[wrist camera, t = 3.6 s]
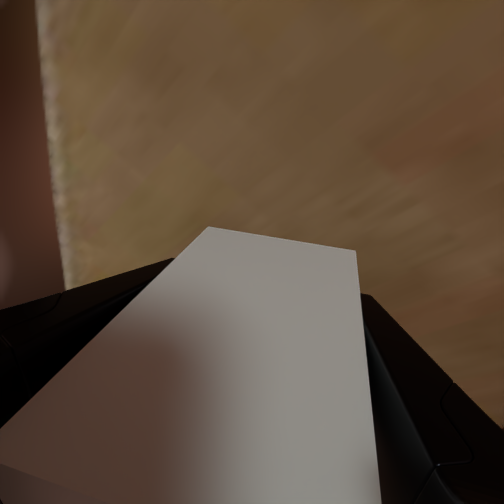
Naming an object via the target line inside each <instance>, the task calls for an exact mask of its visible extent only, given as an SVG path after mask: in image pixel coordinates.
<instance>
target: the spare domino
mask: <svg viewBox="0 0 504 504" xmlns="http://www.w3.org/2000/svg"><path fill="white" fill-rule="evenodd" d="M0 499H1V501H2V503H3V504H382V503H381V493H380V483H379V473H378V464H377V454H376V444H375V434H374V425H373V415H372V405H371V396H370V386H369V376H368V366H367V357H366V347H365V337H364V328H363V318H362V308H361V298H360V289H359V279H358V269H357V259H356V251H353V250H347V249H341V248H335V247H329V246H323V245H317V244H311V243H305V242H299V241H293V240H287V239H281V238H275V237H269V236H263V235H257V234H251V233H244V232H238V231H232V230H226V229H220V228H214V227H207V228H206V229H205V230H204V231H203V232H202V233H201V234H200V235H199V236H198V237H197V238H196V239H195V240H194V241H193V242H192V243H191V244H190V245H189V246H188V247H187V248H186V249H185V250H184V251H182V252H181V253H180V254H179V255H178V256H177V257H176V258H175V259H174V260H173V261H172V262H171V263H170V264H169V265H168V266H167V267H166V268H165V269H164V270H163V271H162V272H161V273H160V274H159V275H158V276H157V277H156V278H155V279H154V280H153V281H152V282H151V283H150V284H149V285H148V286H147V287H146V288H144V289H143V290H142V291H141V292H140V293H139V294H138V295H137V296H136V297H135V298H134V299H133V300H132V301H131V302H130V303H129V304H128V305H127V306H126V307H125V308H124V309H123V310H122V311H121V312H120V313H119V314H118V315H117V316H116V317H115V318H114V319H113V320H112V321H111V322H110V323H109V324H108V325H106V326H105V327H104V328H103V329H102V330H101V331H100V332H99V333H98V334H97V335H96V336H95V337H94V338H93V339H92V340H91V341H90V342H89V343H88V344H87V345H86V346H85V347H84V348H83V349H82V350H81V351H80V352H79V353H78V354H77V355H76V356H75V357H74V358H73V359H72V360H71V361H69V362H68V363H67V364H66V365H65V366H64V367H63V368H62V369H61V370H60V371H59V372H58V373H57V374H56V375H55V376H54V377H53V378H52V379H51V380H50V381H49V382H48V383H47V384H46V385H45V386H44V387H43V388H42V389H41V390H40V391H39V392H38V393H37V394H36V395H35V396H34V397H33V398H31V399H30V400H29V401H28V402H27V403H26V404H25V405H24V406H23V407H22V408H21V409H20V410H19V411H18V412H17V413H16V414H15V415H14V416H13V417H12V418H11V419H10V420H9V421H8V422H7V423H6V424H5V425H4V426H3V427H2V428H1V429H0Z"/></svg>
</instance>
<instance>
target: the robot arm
mask: <svg viewBox="0 0 504 504" xmlns="http://www.w3.org/2000/svg"><path fill="white" fill-rule="evenodd" d="M174 259H175V258H170V259H167V260H164V261H160V262H157V263H154V264H151V265H147V266H144V267H141V268H138V269H135V270H131V271H128V272H125V273H122V274H118V275H115V276H112V277H109V278H105V279H102V280H99V281H96V282H92V283H89V284H86V285H83V286H80V287H76V288H73V289H70V290H67V291H63V292H62V294H61V293H57V294H53V295H50V296H47V297H44V298H40V299H37V300H34V301H30V302H27V303H23V304H20V305H16V306H13V307H8V308H5V309H1V310H0V429H1V428H2V427H3V426H4V425H5V424H6V423H7V422H8V421H9V420H10V419H11V418H12V417H13V416H14V415H15V414H16V413H17V412H18V411H19V410H20V409H21V408H22V407H23V406H24V405H25V404H26V403H27V402H28V401H29V400H30V399H31V398H33V397H34V396H35V395H36V394H37V393H38V392H39V391H40V390H41V389H42V388H43V387H44V386H45V385H46V384H47V383H48V382H49V381H50V380H51V379H52V378H53V377H54V376H55V375H56V374H57V373H58V372H59V371H60V370H61V369H62V368H63V367H64V366H65V365H66V364H67V363H68V362H69V361H71V360H72V359H73V358H74V357H75V356H76V355H77V354H78V353H79V352H80V351H81V350H82V349H83V348H84V347H85V346H86V345H87V344H88V343H89V342H90V341H91V340H92V339H93V338H94V337H95V336H96V335H97V334H98V333H99V332H100V331H101V330H102V329H103V328H104V327H105V326H106V325H108V324H109V323H110V322H111V321H112V320H113V319H114V318H115V317H116V316H117V315H118V314H119V313H120V312H121V311H122V310H123V309H124V308H125V307H126V306H127V305H128V304H129V303H130V302H131V301H132V300H133V299H134V298H135V297H136V296H137V295H138V294H139V293H140V292H141V291H142V290H143V289H144V288H146V287H147V286H148V285H149V284H150V283H151V282H152V281H153V280H154V279H155V278H156V277H157V276H158V275H159V274H160V273H161V272H162V271H163V270H164V269H165V268H166V267H167V266H168V265H169V264H170V263H171V262H172V261H173V260H174ZM360 298H361V308H362V318H363V328H364V337H365V347H366V357H367V366H368V376H369V386H370V396H371V405H372V415H373V425H374V434H375V444H376V454H377V464H378V473H379V483H380V493H381V503H382V504H504V430H503V429H501V428H500V427H499V426H498V425H497V424H496V423H495V422H494V421H493V420H492V419H491V418H490V417H489V416H488V415H487V414H486V413H485V412H484V411H483V410H482V409H481V408H480V407H479V406H478V405H477V404H476V403H475V402H474V401H473V400H472V399H471V398H470V397H469V396H468V395H467V394H466V393H465V392H464V391H463V390H462V389H461V388H460V387H459V386H458V385H457V384H456V383H453V380H452V379H451V378H450V377H449V376H448V375H447V374H446V373H445V372H444V371H443V370H442V369H441V368H440V366H439V365H438V364H437V363H436V362H435V361H434V360H433V359H432V358H431V357H430V356H429V355H428V354H427V353H426V352H425V351H424V350H423V349H422V348H421V347H420V346H419V345H418V344H417V343H416V342H415V341H414V339H413V338H412V337H411V336H410V335H409V334H408V333H407V332H406V331H405V330H404V329H403V328H402V327H401V326H400V325H399V324H398V323H397V322H396V321H395V320H394V319H393V318H392V317H391V316H390V315H389V314H388V312H387V311H386V310H385V309H384V308H383V307H382V306H381V305H380V304H379V303H378V302H377V301H376V300H375V299H374V298H373V297H372V296H371V295H368V294H362V293H360ZM0 504H3V503H2V501H1V499H0Z"/></svg>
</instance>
